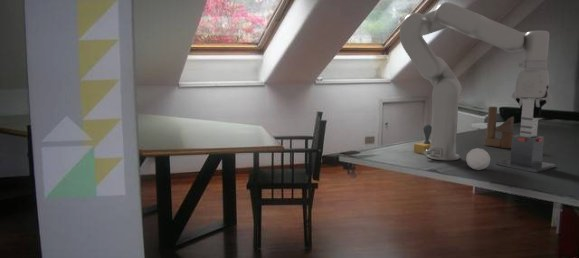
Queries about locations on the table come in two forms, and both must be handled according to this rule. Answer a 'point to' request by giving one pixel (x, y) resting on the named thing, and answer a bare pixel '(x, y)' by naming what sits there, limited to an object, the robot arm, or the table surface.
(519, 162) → the stand base
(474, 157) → the geometric ball
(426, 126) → the rubber stamp
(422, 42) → the robot arm
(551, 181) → the table surface
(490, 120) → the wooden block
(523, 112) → the column
